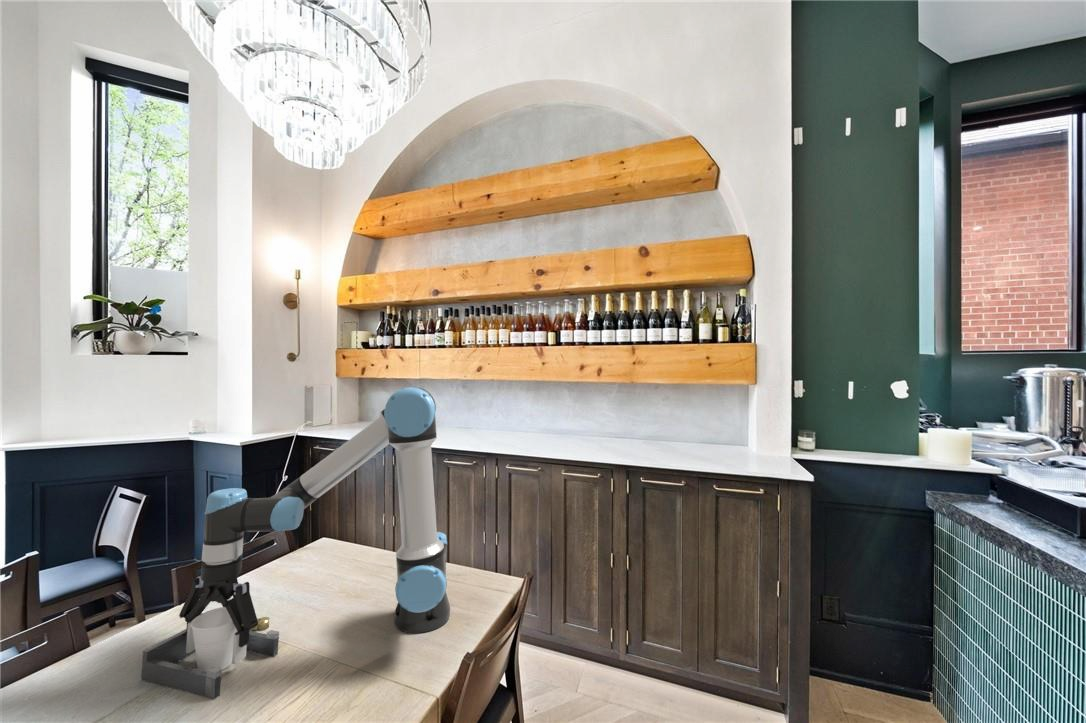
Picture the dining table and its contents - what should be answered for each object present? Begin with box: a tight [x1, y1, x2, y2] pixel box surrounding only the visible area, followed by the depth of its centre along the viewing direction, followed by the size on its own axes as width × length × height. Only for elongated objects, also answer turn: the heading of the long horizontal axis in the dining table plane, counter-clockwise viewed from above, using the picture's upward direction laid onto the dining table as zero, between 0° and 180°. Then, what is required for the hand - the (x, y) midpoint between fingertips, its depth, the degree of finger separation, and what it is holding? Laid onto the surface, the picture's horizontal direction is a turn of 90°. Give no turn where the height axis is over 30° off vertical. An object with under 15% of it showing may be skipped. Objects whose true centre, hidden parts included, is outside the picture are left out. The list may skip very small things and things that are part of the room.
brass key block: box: [242, 616, 270, 632], centre depth 112 cm, size 7×3×2 cm, turn 106°
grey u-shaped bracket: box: [140, 628, 280, 700], centre depth 97 cm, size 20×15×6 cm
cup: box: [191, 606, 237, 672], centre depth 97 cm, size 10×10×11 cm
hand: (215, 655), depth 97 cm, fingers open, 13 cm apart
